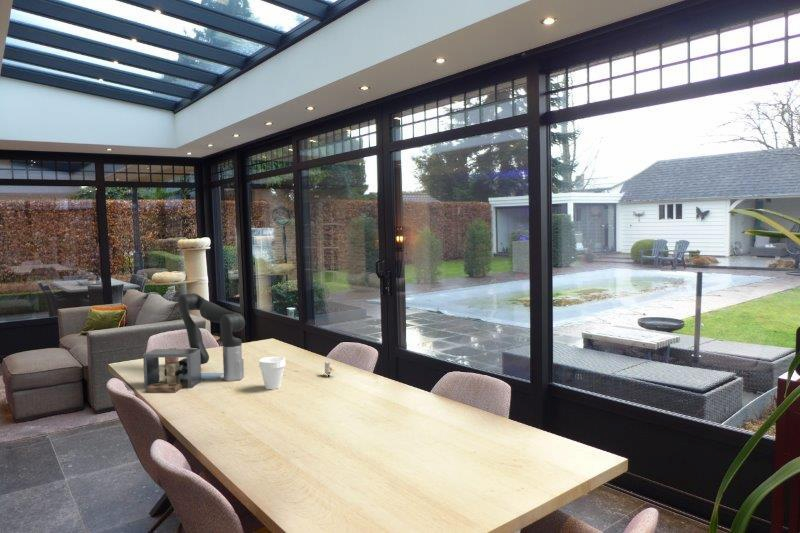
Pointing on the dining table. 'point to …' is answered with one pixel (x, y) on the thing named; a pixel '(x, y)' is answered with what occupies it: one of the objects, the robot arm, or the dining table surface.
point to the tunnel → (153, 356)
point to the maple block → (172, 372)
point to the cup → (272, 371)
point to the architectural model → (328, 368)
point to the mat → (204, 376)
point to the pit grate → (163, 387)
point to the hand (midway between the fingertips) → (170, 374)
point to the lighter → (171, 358)
